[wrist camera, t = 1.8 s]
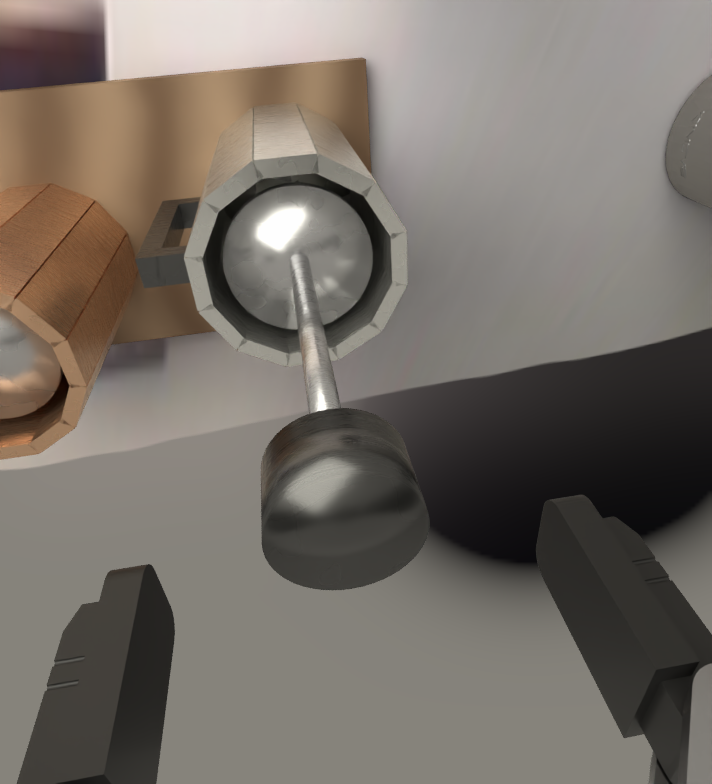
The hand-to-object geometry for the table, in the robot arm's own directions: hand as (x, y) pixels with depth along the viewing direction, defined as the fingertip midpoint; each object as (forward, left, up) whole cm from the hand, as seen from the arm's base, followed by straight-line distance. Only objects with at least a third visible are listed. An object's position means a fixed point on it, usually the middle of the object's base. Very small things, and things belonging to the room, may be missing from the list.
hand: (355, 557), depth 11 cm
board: (+8, +2, -30) cm, 31 cm away
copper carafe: (+16, +3, -29) cm, 34 cm away
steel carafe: (+1, 0, -29) cm, 29 cm away
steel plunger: (0, 0, -17) cm, 17 cm away
